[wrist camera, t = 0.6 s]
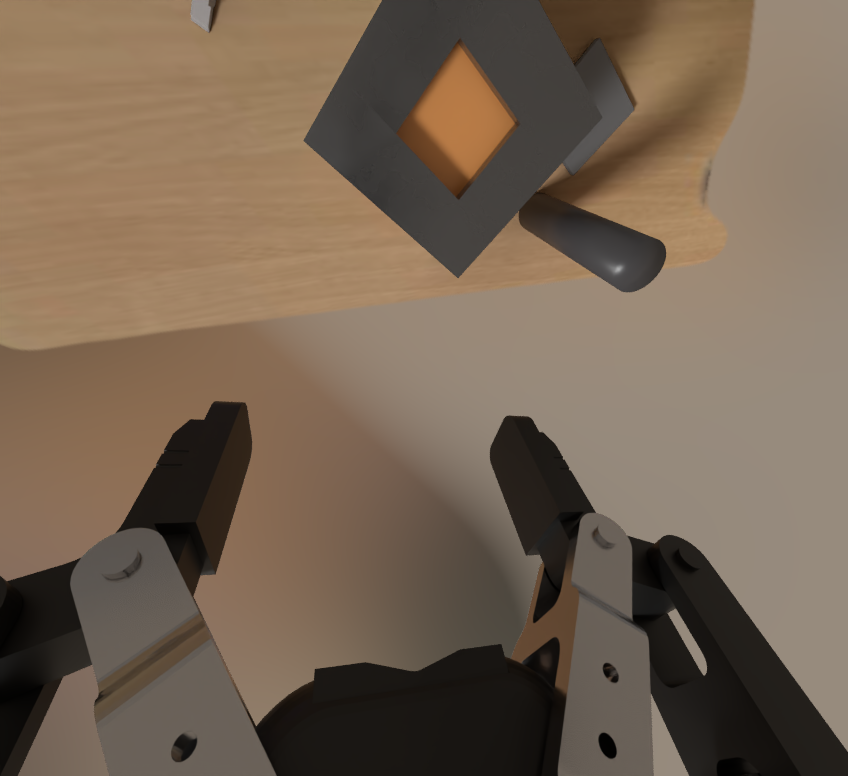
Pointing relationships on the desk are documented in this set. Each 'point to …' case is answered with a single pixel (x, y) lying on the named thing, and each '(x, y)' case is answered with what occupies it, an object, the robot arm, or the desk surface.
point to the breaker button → (455, 122)
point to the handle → (595, 242)
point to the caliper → (202, 13)
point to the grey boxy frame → (403, 86)
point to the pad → (599, 102)
